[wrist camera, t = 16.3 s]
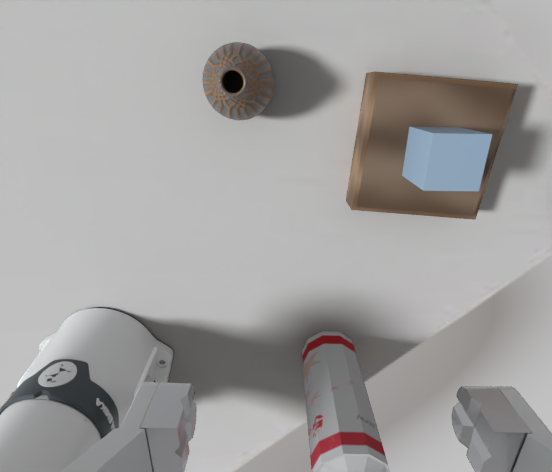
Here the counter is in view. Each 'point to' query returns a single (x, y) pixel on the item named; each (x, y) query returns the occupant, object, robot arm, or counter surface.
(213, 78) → the vase
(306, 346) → the nozzle bottle
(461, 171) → the slate block
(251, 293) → the counter surface
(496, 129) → the walnut plinth
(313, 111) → the counter surface
